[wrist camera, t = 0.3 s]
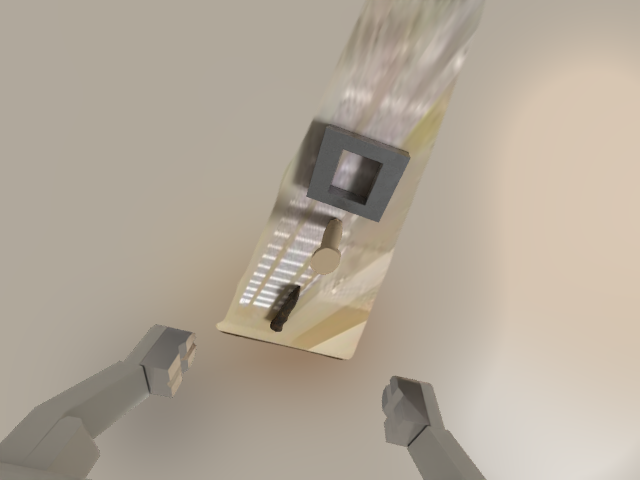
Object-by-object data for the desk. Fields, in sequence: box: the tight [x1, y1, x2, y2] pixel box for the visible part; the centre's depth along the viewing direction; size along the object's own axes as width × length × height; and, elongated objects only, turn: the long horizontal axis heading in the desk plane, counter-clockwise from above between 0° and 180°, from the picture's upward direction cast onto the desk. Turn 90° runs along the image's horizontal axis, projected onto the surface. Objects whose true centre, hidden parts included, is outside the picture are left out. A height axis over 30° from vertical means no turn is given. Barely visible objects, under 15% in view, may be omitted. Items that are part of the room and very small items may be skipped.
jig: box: [306, 124, 410, 222], centre depth 52 cm, size 14×16×4 cm
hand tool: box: [270, 286, 300, 332], centre depth 77 cm, size 19×4×5 cm, turn 152°
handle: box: [310, 218, 342, 275], centre depth 55 cm, size 5×6×15 cm
